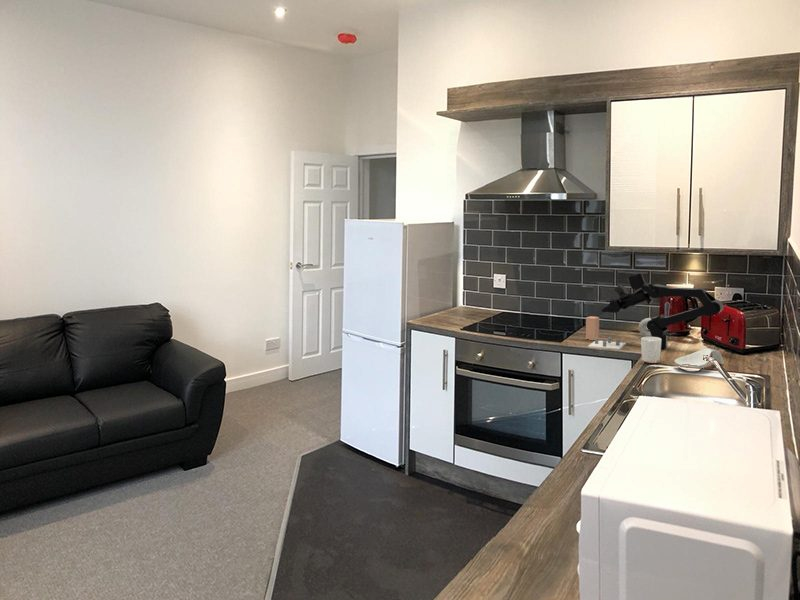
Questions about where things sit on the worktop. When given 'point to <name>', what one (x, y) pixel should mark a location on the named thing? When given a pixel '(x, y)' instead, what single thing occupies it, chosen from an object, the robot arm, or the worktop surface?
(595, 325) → the terracotta block
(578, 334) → the worktop surface
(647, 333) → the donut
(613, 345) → the peg board
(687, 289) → the robot arm
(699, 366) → the spoon rest
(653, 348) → the white cup
